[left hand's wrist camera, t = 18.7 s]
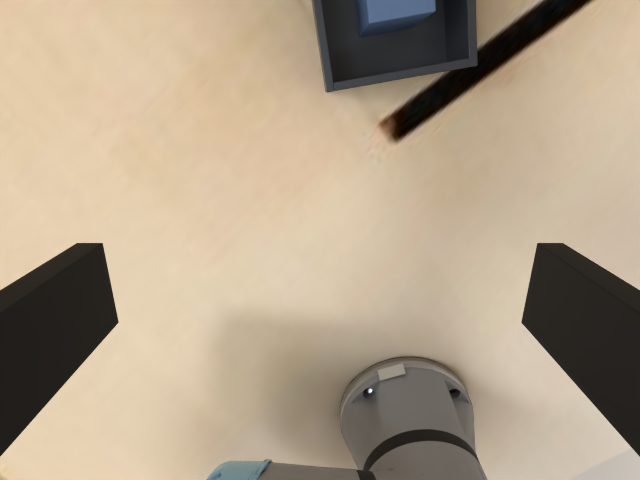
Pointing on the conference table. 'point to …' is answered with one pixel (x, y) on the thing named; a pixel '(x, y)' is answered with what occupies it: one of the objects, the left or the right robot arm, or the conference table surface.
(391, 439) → the left robot arm
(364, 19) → the block
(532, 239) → the conference table surface
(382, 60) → the tray
